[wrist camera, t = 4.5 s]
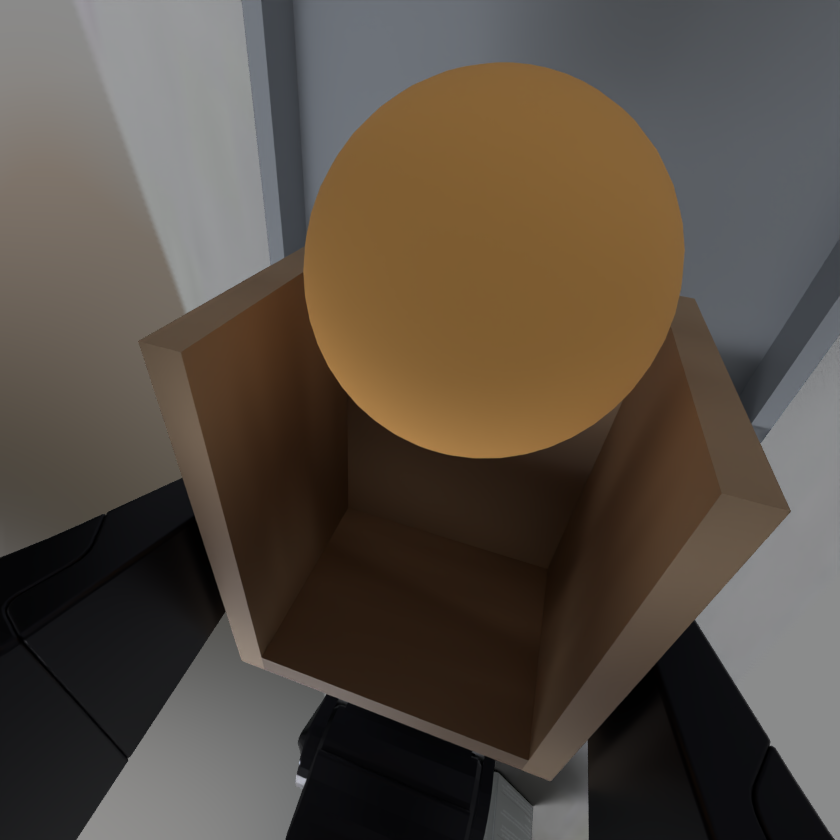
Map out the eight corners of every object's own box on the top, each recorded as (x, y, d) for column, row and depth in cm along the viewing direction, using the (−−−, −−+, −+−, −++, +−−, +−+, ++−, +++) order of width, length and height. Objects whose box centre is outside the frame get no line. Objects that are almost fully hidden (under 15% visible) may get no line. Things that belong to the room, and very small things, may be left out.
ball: (679, 555, 3) (873, -49, 3) (164, 392, 4) (296, -109, 4) (576, 480, 7) (655, 225, 7) (337, 407, 8) (403, 172, 7)
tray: (742, 402, 17) (760, 442, 15) (307, 303, 20) (277, 327, 18) (1192, -292, 8) (1380, -410, 6) (270, -272, 11) (204, -346, 9)
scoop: (564, 567, 11) (550, 781, 8) (340, 498, 12) (241, 660, 9) (695, 298, 7) (791, 511, 4) (334, 229, 8) (138, 341, 5)
